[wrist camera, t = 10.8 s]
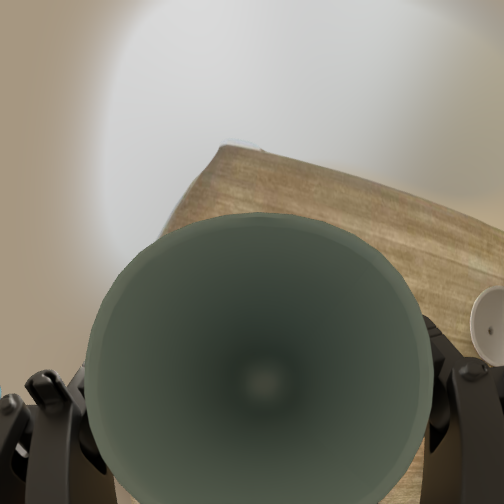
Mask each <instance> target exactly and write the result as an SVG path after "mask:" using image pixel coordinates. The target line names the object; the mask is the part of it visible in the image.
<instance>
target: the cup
mask: <svg viewBox="0 0 504 504" xmlns="http://www.w3.org/2000/svg"><path fill="white" fill-rule="evenodd" d="M433 380H434V368H433V359H432V351H431V344H430V338H429V334H428V331H427V328H426V325H425V322H424V319H423V316H422V313H421V310H420V307H419V304H418V303H417V301H416V299H415V297H414V296H413V294H412V292H411V290H410V289H409V287H408V285H407V284H406V282H405V280H404V278H403V277H402V275H401V274H400V273H399V272H398V271H397V270H396V269H395V268H394V267H393V266H392V264H391V263H390V262H389V261H388V260H387V259H386V258H385V257H384V256H383V255H382V254H381V253H380V252H379V251H378V250H376V249H375V248H373V247H372V246H370V245H369V244H367V243H366V242H365V241H363V240H362V239H360V238H359V237H357V236H356V235H354V234H352V233H350V232H347V231H345V230H343V229H340V228H338V227H335V226H333V225H331V224H328V223H326V222H323V221H319V220H314V219H310V218H305V217H301V216H296V215H292V214H278V213H262V212H255V213H243V214H232V215H223V216H219V217H215V218H211V219H207V220H203V221H199V222H195V223H192V224H189V225H187V226H185V227H182V228H180V229H178V230H176V231H173V232H171V233H169V234H166V235H164V236H163V237H161V238H160V239H158V240H157V241H156V242H154V243H153V244H151V245H150V246H148V247H147V248H145V249H144V250H143V251H141V252H140V253H139V254H138V255H137V256H136V257H135V258H134V259H133V260H132V261H131V262H130V263H129V264H128V265H127V266H126V268H125V269H124V270H123V271H122V272H121V273H120V274H119V275H118V277H117V278H116V280H115V282H114V283H113V285H112V286H111V288H110V290H109V291H108V293H107V294H106V296H105V298H104V299H103V301H102V304H101V306H100V309H99V311H98V314H97V316H96V319H95V321H94V324H93V327H92V329H91V334H90V338H89V343H88V349H87V353H86V359H85V376H84V395H85V402H86V408H87V414H88V419H89V425H90V428H91V431H92V434H93V436H94V439H95V442H96V444H97V447H98V449H99V452H100V454H101V456H102V458H103V460H104V461H105V463H106V464H107V466H108V467H109V469H110V471H111V472H112V474H113V475H114V476H115V478H116V479H117V481H118V482H119V483H120V484H121V485H122V486H123V487H124V488H125V489H126V490H127V491H128V492H129V493H130V494H131V495H132V496H133V497H134V498H135V499H136V500H137V501H138V502H139V503H140V504H377V503H378V502H380V501H381V500H382V499H383V498H384V497H385V496H386V495H387V494H388V493H389V492H390V491H391V489H392V488H393V487H394V486H395V485H396V484H397V482H398V481H399V480H400V479H401V478H402V476H403V475H404V474H405V473H406V471H407V469H408V468H409V466H410V464H411V462H412V460H413V458H414V456H415V454H416V453H417V451H418V449H419V447H420V444H421V442H422V440H423V437H424V433H425V430H426V426H427V423H428V419H429V415H430V411H431V407H432V396H433Z"/></svg>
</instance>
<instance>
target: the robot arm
mask: <svg viewBox="0 0 504 504" xmlns="http://www.w3.org/2000/svg"><path fill="white" fill-rule="evenodd" d="M422 316H423V319H424V322H425V325H426V328H427V331H428V334H429V338H430V344H431V351H432V359H433V368H434V380H433V396H432V407H431V411H430V415H429V420H428V423H427V426H426V430H425V433H424V436H425V449H424V468H423V481H422V490H421V498H420V504H504V366H498V367H491V368H489V366H488V365H487V364H486V363H485V362H483V361H482V360H480V359H477V358H474V357H465V358H464V357H463V356H462V355H461V353H460V352H459V351H458V350H457V349H456V348H455V346H454V345H453V344H452V343H451V342H450V341H449V340H448V339H447V337H446V336H445V335H444V334H443V335H442V332H441V331H440V330H439V329H438V328H436V325H435V324H434V323H433V322H432V321H431V320H430V319H429V318H428V317H426V316H424V315H422ZM84 376H85V361H84V363H83V364H82V367H80V368H79V370H78V371H77V373H76V374H75V376H74V377H73V379H72V380H71V382H70V383H69V385H68V386H67V388H66V386H65V384H64V383H63V381H62V379H61V378H60V376H59V374H58V373H57V372H56V371H54V370H43V371H40V372H37V373H36V374H34V375H32V376H31V377H30V378H29V379H28V380H27V382H26V384H25V388H26V389H27V390H28V392H29V394H30V395H31V397H32V398H33V399H34V401H35V402H36V404H37V405H25V403H24V402H23V400H22V399H21V398H20V396H19V395H17V394H8V395H5V396H4V397H3V398H1V387H0V504H117V498H116V492H115V485H114V477H113V474H112V472H111V471H110V469H109V467H108V466H107V464H106V463H105V461H104V460H103V458H102V456H101V454H100V452H99V449H98V447H97V444H96V442H95V439H94V436H93V434H92V431H91V428H90V425H89V419H88V414H87V408H86V402H85V395H84ZM423 438H424V437H423Z"/></svg>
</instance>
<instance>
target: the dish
mask: <svg viewBox="0 0 504 504" xmlns="http://www.w3.org/2000/svg"><path fill="white" fill-rule="evenodd" d="M488 329H489V330H490V334H489V332H488ZM470 332H471V338H472V341H473V344H474V347H475V349H476V351H477V352H478V354H479V355H480V357H481V358H482V359H483V360H484V361H485V362H486V363H488V364H489V365H491V366H494V367H498V366H504V286H492V287H489V288H487V289H486V290H484V291H483V292H482V293H481V294H480V295H479V296H478V298H477V299H476V301H475V303H474V305H473V308H472V311H471V316H470Z"/></svg>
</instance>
